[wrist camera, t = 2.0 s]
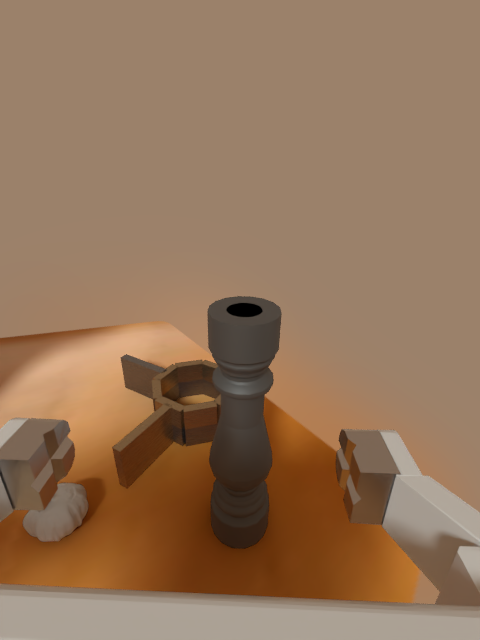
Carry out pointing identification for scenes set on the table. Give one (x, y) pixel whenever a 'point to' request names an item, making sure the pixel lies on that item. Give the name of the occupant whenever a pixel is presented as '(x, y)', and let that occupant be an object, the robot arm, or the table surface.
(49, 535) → the garlic
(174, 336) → the table surface
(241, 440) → the candle holder
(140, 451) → the octagonal collar with flanges
